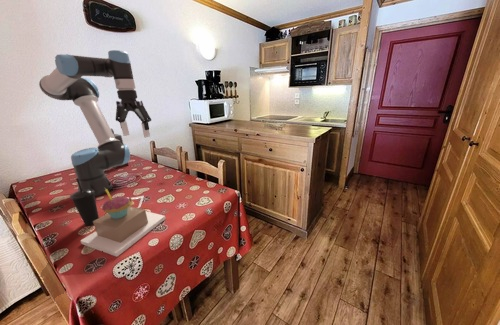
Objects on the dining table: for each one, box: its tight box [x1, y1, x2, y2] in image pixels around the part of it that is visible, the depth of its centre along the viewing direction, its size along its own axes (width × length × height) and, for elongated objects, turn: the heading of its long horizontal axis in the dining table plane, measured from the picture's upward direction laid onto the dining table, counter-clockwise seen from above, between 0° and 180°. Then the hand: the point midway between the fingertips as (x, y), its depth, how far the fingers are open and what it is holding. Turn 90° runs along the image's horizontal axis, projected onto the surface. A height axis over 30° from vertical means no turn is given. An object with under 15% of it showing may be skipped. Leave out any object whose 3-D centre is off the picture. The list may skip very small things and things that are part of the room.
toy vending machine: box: [110, 127, 130, 170], centre depth 144 cm, size 9×11×28 cm
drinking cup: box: [69, 177, 100, 227], centre depth 82 cm, size 8×8×20 cm
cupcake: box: [101, 188, 130, 219], centre depth 74 cm, size 9×8×12 cm
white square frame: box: [126, 195, 145, 209], centre depth 97 cm, size 12×12×5 cm
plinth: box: [80, 206, 167, 257], centre depth 78 cm, size 18×22×8 cm
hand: (136, 136), depth 99 cm, fingers open, 13 cm apart
